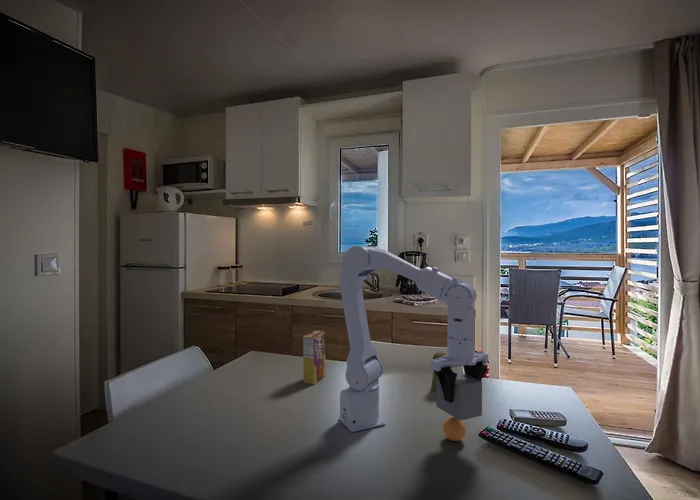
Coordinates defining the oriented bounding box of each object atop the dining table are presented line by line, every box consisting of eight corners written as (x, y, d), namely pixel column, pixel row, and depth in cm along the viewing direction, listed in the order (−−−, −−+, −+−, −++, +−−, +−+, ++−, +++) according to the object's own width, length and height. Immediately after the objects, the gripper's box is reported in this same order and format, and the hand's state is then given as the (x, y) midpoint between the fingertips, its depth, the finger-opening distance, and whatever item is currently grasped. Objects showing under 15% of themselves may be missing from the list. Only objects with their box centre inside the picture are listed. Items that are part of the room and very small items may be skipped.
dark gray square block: (460, 420, 80) (460, 385, 80) (436, 406, 87) (436, 374, 87) (481, 415, 82) (482, 381, 82) (456, 402, 90) (456, 370, 90)
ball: (444, 415, 86) (435, 427, 88) (457, 436, 82) (447, 448, 85) (460, 410, 88) (450, 422, 91) (473, 430, 85) (463, 441, 88)
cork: (428, 390, 117) (429, 354, 117) (434, 383, 122) (434, 349, 122) (448, 393, 114) (448, 357, 114) (453, 387, 120) (453, 352, 119)
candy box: (314, 374, 131) (314, 330, 131) (325, 376, 129) (326, 331, 129) (302, 383, 122) (302, 335, 122) (314, 384, 121) (314, 337, 121)
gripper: (446, 344, 77) (446, 411, 78) (498, 338, 84) (498, 399, 84) (425, 337, 84) (425, 398, 84) (475, 331, 90) (475, 388, 90)
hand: (460, 398), depth 84 cm, fingers closed on dark gray square block, 6 cm apart
